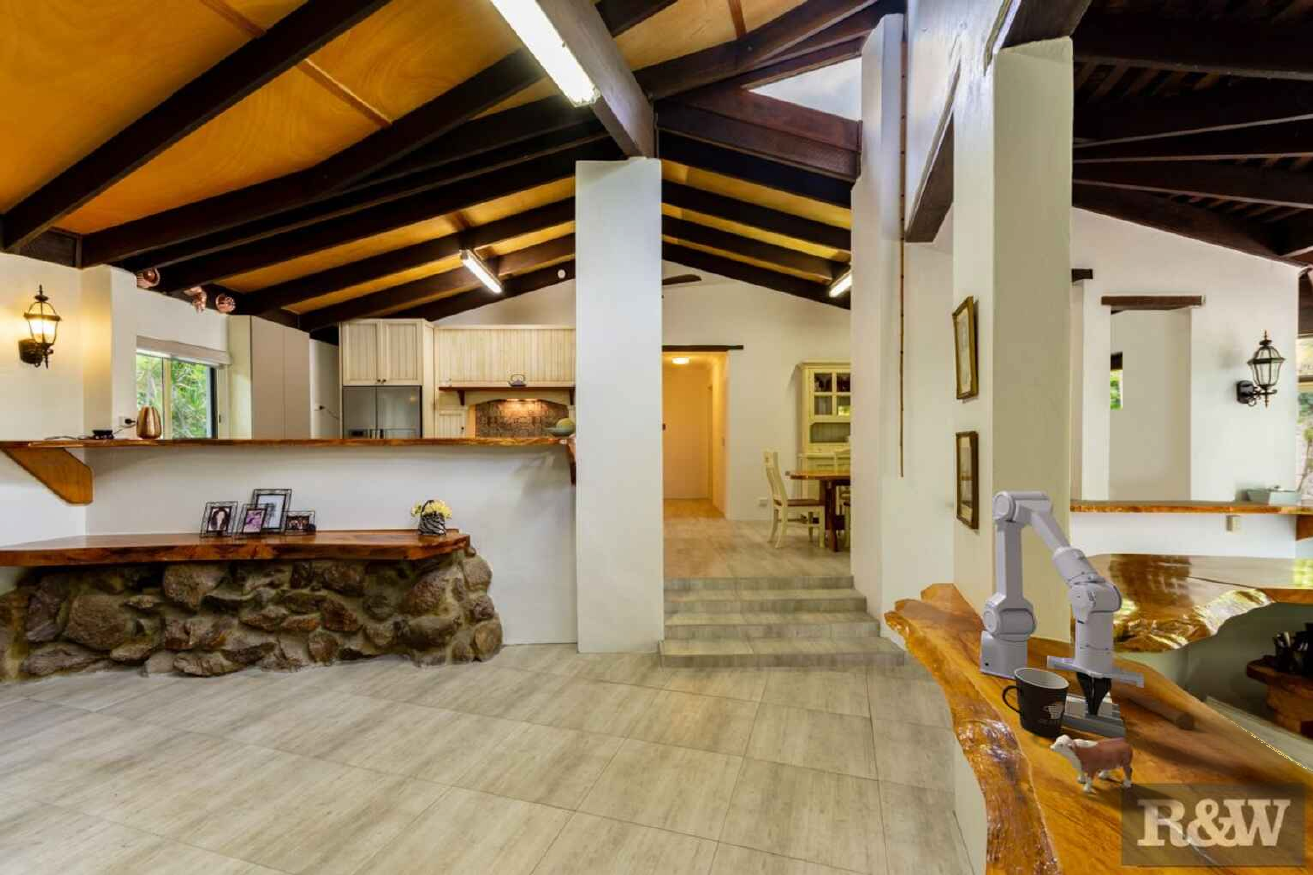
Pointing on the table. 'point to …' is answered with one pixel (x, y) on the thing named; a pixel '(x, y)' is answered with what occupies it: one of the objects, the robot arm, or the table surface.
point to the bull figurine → (1096, 757)
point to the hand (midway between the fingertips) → (1092, 713)
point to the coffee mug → (1039, 701)
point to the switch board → (1096, 722)
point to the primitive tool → (1154, 706)
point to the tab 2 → (1106, 707)
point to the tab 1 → (1075, 706)
